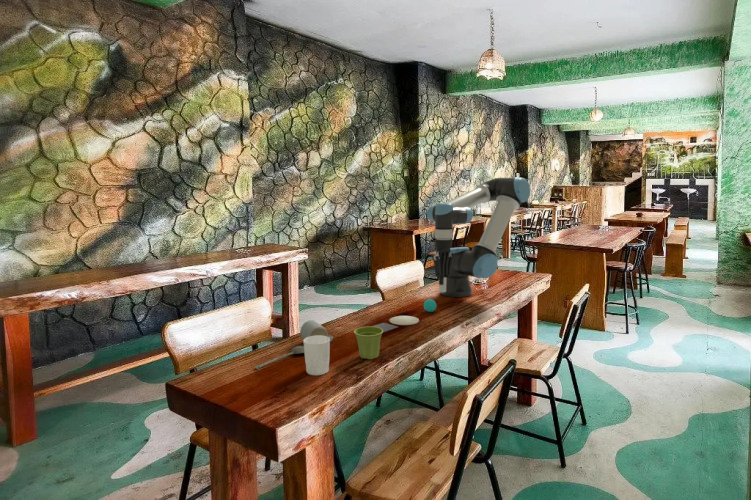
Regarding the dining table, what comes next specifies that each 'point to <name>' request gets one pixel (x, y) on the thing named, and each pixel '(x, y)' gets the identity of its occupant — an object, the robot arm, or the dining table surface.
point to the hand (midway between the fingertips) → (442, 291)
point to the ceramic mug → (313, 330)
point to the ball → (430, 305)
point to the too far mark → (385, 326)
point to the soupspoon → (294, 351)
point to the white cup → (317, 354)
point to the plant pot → (368, 341)
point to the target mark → (404, 320)
